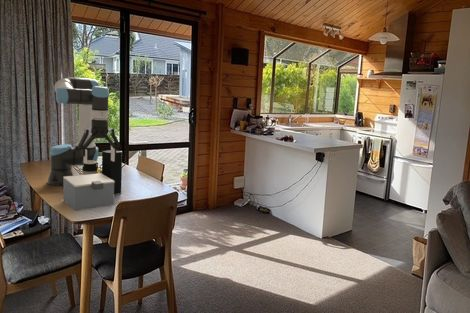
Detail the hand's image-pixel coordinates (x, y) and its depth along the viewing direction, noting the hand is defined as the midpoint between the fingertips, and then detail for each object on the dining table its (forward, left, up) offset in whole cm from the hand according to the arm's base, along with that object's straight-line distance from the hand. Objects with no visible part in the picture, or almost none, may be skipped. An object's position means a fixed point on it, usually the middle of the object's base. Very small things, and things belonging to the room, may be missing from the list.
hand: (99, 162), depth 184 cm
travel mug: (-31, +7, -25) cm, 40 cm away
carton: (-13, 0, -25) cm, 28 cm away
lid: (-10, 0, -14) cm, 17 cm away
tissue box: (-24, +17, -25) cm, 38 cm away
